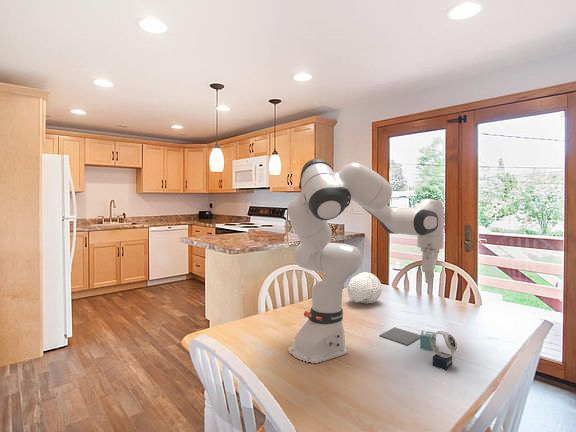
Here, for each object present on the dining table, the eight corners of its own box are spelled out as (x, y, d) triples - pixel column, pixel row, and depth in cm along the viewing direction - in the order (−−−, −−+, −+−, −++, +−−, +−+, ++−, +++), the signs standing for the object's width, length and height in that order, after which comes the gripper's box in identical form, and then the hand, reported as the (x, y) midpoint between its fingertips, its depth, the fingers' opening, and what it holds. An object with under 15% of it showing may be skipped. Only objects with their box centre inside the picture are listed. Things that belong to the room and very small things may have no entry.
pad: (407, 345, 125) (407, 344, 125) (379, 336, 134) (379, 335, 134) (422, 336, 134) (422, 335, 134) (394, 328, 142) (394, 327, 142)
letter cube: (434, 351, 121) (435, 337, 121) (420, 348, 124) (420, 334, 123) (435, 345, 126) (435, 332, 126) (421, 343, 128) (421, 329, 128)
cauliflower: (358, 297, 188) (359, 268, 187) (388, 303, 176) (389, 272, 176) (340, 305, 172) (340, 274, 171) (372, 313, 161) (372, 279, 160)
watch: (452, 372, 106) (453, 338, 106) (427, 363, 112) (427, 331, 111) (458, 366, 110) (459, 333, 110) (433, 358, 116) (434, 327, 115)
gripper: (437, 247, 112) (436, 287, 113) (441, 240, 130) (440, 275, 131) (417, 245, 115) (417, 285, 116) (423, 239, 133) (422, 273, 134)
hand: (429, 279), depth 123 cm, fingers open, 8 cm apart
